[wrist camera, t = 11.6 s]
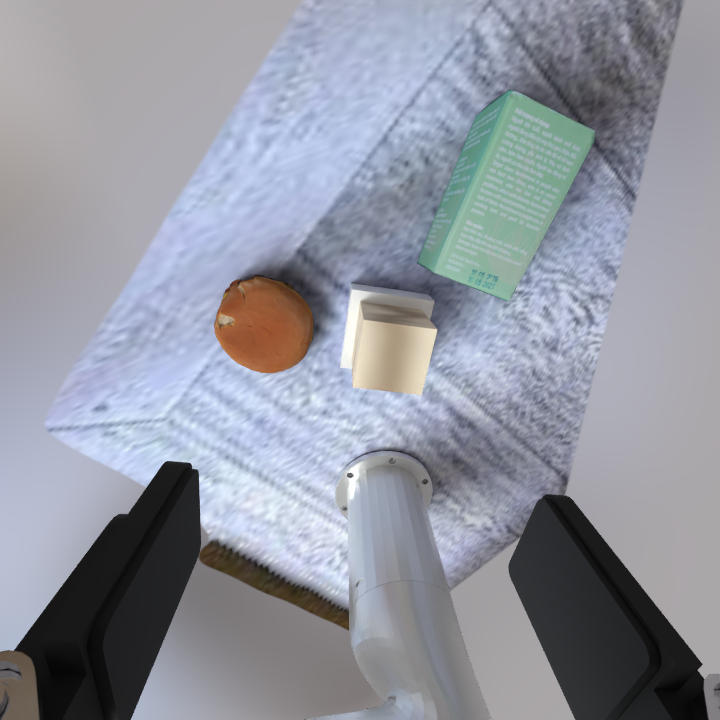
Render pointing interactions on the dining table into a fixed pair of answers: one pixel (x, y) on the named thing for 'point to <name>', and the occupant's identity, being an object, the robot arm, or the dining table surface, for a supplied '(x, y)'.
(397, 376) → the maple block
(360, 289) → the white slab
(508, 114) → the box
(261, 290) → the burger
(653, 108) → the dining table surface
